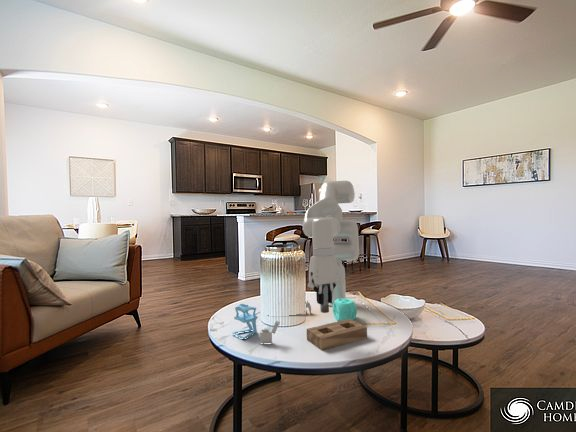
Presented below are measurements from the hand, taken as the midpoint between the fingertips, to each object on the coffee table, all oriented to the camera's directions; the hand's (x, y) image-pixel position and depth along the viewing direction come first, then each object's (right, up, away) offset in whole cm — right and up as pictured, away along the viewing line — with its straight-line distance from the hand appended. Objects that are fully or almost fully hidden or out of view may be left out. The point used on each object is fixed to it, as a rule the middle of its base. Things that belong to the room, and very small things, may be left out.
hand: (324, 302), depth 108 cm
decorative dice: (+12, -14, +23) cm, 29 cm away
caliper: (-13, -15, +31) cm, 36 cm away
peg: (0, -3, 0) cm, 3 cm away
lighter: (-20, -15, 0) cm, 25 cm away
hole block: (+5, -14, +3) cm, 15 cm away
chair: (-29, -15, +9) cm, 34 cm away
